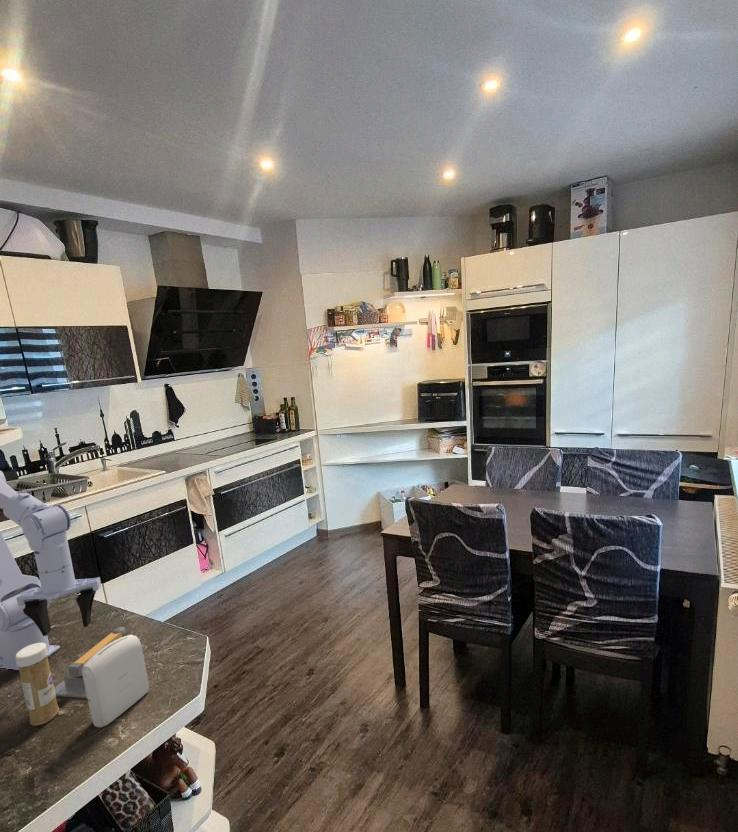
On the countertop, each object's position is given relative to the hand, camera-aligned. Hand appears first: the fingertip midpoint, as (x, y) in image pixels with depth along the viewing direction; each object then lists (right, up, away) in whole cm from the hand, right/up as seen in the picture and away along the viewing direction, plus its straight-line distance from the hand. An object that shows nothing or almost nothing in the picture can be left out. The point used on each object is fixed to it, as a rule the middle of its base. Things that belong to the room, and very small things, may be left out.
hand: (67, 628), depth 95 cm
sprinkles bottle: (+3, -11, -11) cm, 16 cm away
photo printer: (+17, -10, -10) cm, 22 cm away
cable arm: (+6, -6, +2) cm, 9 cm away
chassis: (+6, -9, +1) cm, 11 cm away
